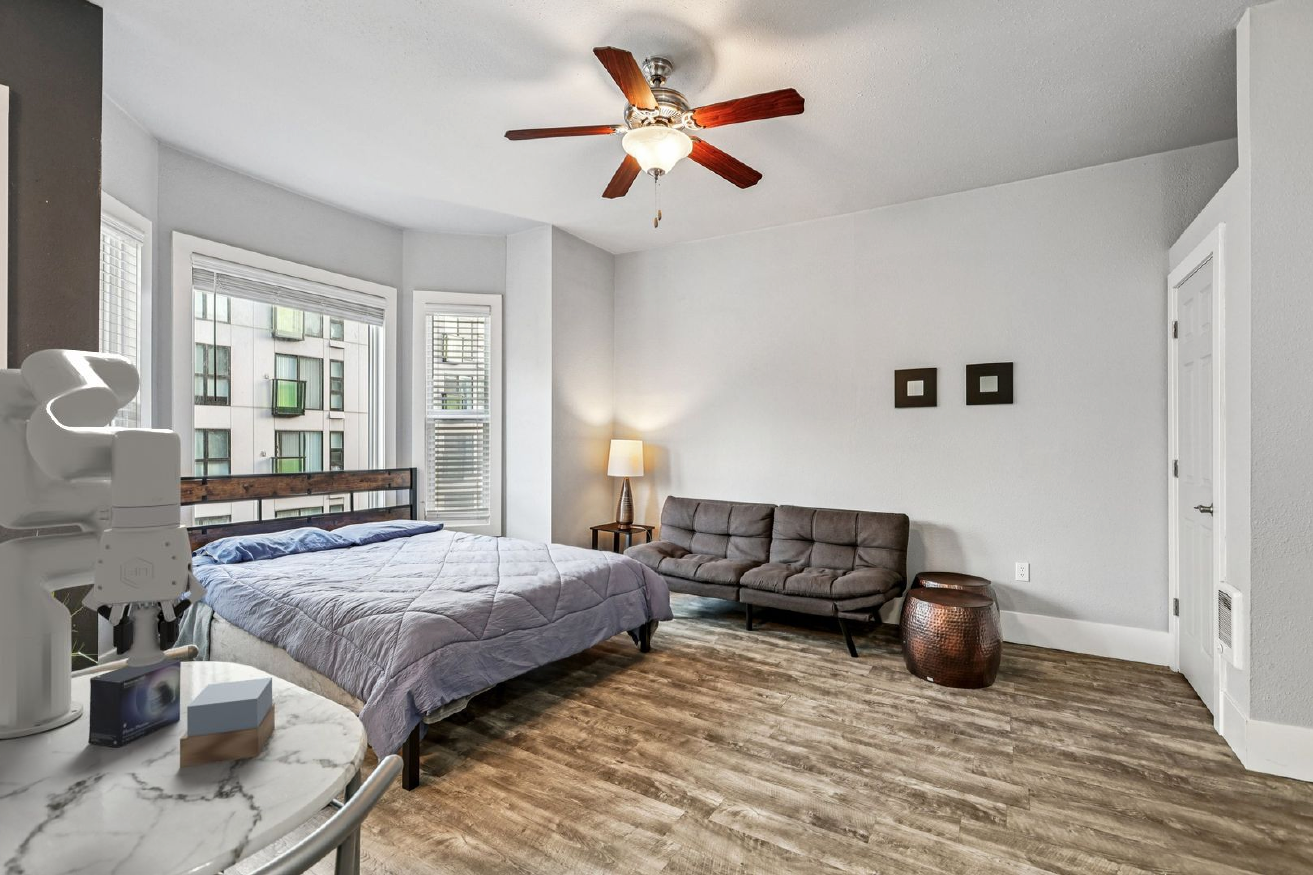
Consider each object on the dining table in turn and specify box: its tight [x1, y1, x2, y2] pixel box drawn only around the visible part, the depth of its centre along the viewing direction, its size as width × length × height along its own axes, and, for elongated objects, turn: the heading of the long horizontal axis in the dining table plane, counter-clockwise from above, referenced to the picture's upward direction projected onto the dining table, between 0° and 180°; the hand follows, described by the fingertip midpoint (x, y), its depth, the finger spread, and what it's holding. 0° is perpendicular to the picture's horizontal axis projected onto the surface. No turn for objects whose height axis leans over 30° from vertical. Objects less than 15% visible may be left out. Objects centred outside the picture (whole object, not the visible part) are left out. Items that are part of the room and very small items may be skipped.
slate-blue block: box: [186, 677, 273, 737], centre depth 100 cm, size 9×9×4 cm
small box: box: [87, 658, 182, 748], centre depth 105 cm, size 11×6×10 cm, turn 168°
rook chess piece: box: [125, 602, 167, 667], centre depth 88 cm, size 4×4×8 cm
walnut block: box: [179, 702, 276, 768], centre depth 100 cm, size 10×10×4 cm
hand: (146, 648), depth 88 cm, fingers closed on rook chess piece, 4 cm apart
